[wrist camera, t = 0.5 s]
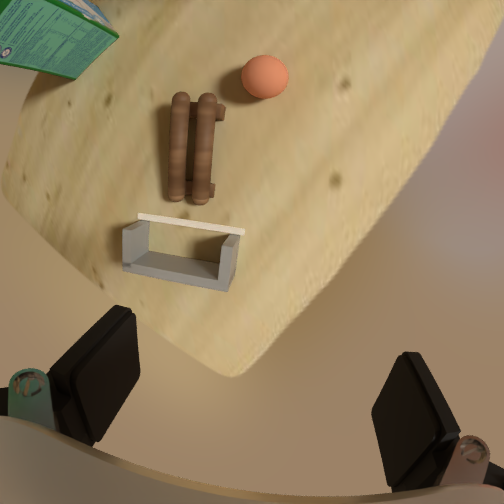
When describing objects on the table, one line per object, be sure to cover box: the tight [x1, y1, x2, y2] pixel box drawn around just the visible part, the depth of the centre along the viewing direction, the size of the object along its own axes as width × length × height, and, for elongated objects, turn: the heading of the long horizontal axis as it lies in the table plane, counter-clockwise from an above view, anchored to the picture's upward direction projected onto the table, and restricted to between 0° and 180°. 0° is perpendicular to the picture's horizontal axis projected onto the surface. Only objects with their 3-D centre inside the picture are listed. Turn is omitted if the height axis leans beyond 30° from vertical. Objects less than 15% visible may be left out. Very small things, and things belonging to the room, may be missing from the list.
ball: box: [241, 55, 288, 99], centre depth 28 cm, size 5×5×5 cm
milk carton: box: [0, 0, 119, 80], centre depth 18 cm, size 9×9×25 cm
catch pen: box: [122, 220, 240, 292], centre depth 35 cm, size 5×13×5 cm, turn 82°
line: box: [138, 213, 245, 235], centre depth 36 cm, size 1×14×1 cm, turn 82°
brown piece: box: [168, 92, 226, 205], centre depth 31 cm, size 13×6×4 cm, turn 172°
